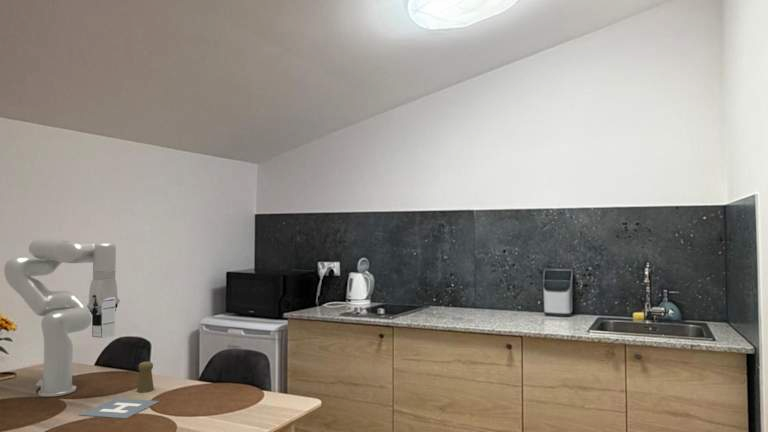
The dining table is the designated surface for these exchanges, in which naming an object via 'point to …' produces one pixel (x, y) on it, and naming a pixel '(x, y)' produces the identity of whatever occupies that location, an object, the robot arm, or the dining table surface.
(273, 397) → the dining table surface
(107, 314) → the syrup box
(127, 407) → the letter sheet
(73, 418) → the dining table surface
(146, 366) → the cork
